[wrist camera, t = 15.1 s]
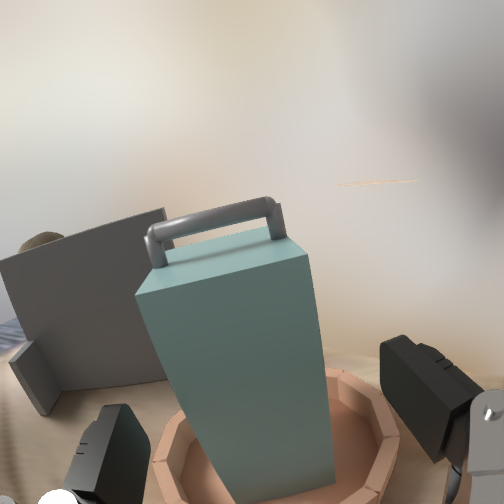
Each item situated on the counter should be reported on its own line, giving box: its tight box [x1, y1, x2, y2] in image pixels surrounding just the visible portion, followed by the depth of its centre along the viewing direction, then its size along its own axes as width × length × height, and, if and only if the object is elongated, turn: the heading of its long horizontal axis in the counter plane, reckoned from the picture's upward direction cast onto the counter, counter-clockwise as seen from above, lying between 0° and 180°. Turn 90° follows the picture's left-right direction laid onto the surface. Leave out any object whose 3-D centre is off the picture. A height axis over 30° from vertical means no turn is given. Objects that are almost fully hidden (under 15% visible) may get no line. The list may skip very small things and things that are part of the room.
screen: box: [0, 207, 175, 416], centre depth 21 cm, size 5×17×14 cm, turn 96°
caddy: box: [135, 197, 336, 504], centre depth 12 cm, size 6×5×14 cm
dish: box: [152, 368, 400, 504], centre depth 14 cm, size 13×13×2 cm
